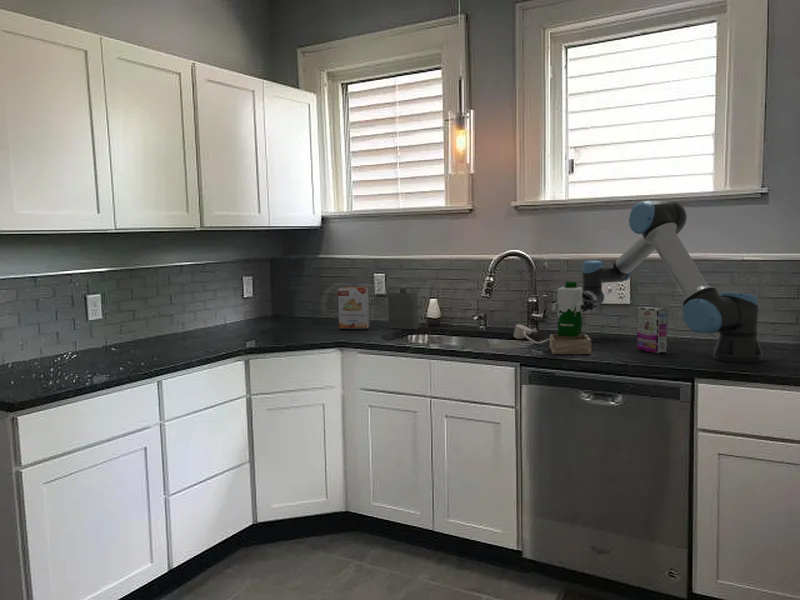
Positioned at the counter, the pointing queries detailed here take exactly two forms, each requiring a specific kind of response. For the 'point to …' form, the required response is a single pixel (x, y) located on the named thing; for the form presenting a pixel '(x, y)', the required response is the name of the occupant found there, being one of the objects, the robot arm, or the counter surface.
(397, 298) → the flask
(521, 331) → the toilet paper hanger
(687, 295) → the robot arm
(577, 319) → the soya milk
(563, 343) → the caddy
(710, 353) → the counter surface
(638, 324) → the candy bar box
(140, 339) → the counter surface
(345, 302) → the cracker box
